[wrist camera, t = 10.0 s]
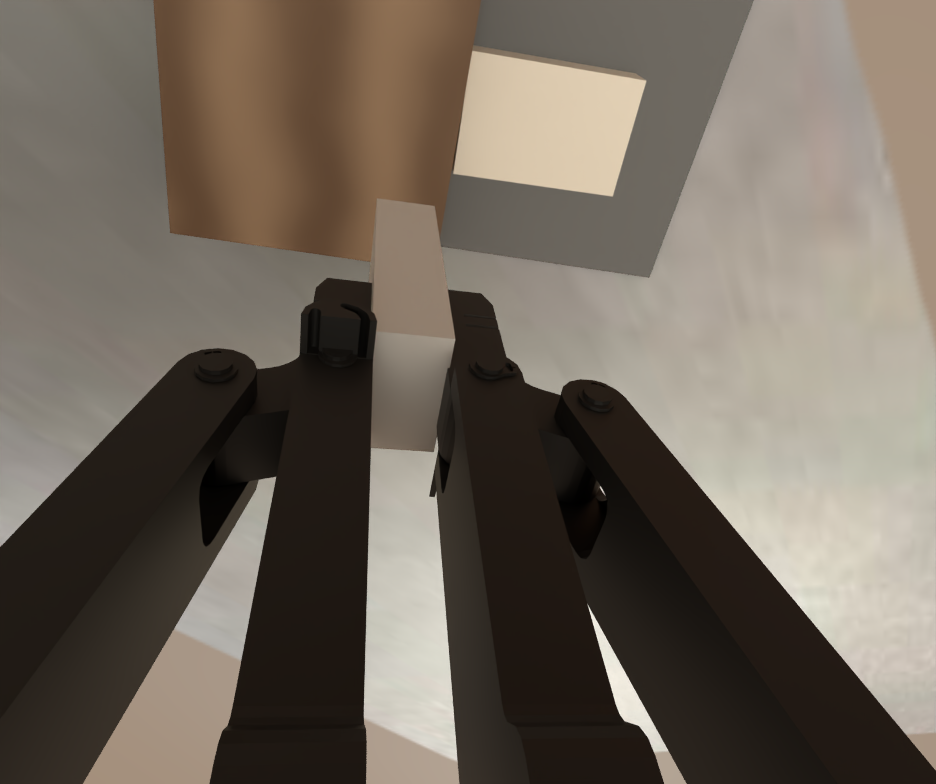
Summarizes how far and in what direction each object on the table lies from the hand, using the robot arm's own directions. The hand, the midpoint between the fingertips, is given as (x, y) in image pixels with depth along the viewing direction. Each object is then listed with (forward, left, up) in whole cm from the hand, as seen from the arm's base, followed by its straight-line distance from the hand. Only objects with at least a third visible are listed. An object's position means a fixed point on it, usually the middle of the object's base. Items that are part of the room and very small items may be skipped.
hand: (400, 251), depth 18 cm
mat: (+10, 0, -21) cm, 23 cm away
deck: (-4, 0, -21) cm, 22 cm away
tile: (+7, 0, -21) cm, 22 cm away
